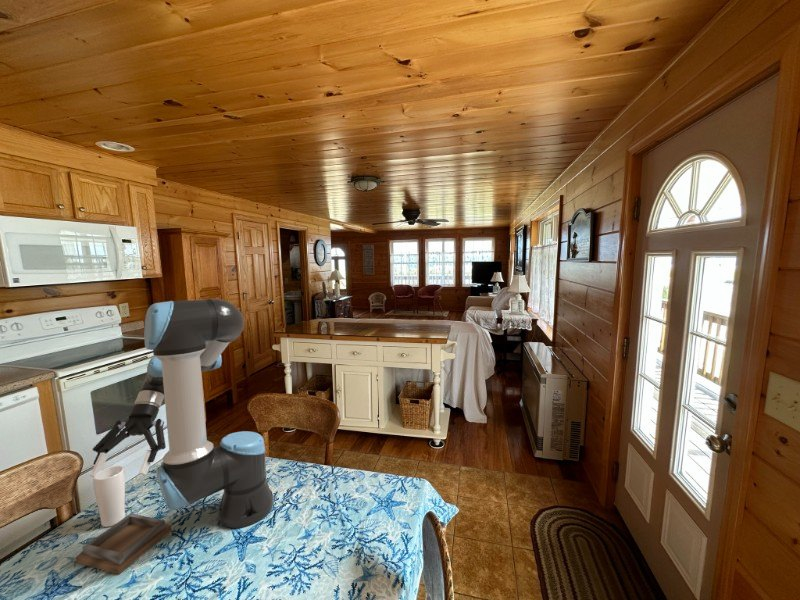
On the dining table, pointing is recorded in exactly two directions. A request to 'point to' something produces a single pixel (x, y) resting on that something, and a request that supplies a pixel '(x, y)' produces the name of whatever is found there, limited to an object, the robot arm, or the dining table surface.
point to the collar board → (123, 543)
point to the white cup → (110, 494)
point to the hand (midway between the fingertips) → (118, 475)
